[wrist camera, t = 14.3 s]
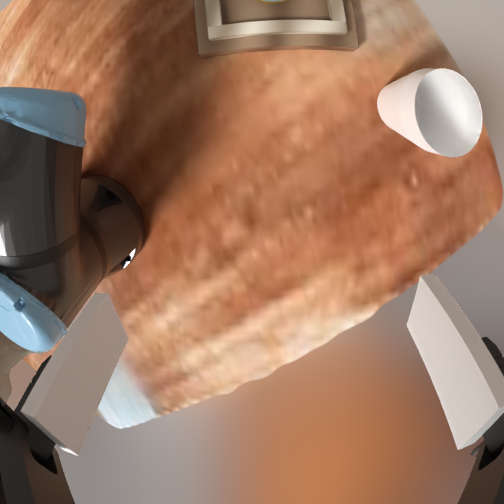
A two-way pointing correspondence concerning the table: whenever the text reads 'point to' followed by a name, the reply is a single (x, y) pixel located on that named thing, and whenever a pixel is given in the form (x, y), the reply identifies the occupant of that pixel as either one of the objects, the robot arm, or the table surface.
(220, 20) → the plinth
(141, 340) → the table surface
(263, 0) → the bottle
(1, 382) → the bust
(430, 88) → the cup
